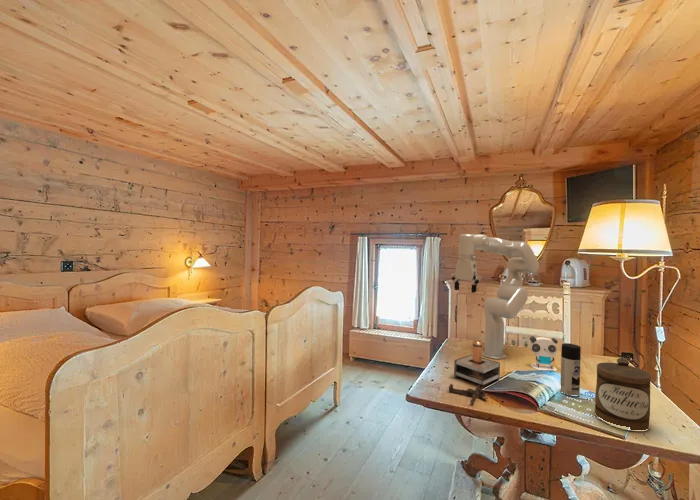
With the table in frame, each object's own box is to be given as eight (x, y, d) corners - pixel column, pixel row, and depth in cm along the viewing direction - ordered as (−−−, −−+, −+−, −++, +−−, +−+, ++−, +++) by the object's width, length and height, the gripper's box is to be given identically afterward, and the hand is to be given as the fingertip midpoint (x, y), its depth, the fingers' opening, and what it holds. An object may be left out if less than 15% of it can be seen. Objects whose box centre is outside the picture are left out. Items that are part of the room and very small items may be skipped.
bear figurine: (453, 377, 147) (489, 380, 140) (454, 386, 147) (490, 391, 140) (444, 392, 131) (484, 398, 124) (445, 403, 131) (485, 409, 124)
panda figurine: (531, 369, 165) (532, 339, 164) (527, 362, 176) (528, 333, 175) (559, 373, 161) (561, 342, 161) (553, 365, 172) (554, 336, 172)
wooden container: (596, 423, 116) (599, 360, 115) (592, 406, 128) (595, 349, 128) (654, 438, 108) (657, 369, 107) (643, 418, 120) (646, 356, 120)
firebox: (470, 370, 161) (471, 354, 161) (499, 380, 151) (500, 362, 150) (453, 377, 153) (454, 360, 152) (483, 388, 142) (483, 369, 142)
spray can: (573, 398, 134) (575, 348, 134) (556, 391, 140) (558, 344, 140) (582, 395, 138) (584, 346, 137) (565, 388, 144) (567, 342, 143)
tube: (474, 376, 155) (475, 339, 154) (483, 379, 151) (484, 341, 151) (469, 378, 152) (471, 341, 152) (478, 381, 149) (479, 343, 148)
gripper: (485, 258, 169) (484, 292, 170) (455, 257, 183) (454, 288, 183) (477, 259, 165) (476, 294, 165) (447, 257, 178) (446, 289, 178)
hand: (465, 291), depth 174 cm, fingers open, 9 cm apart
